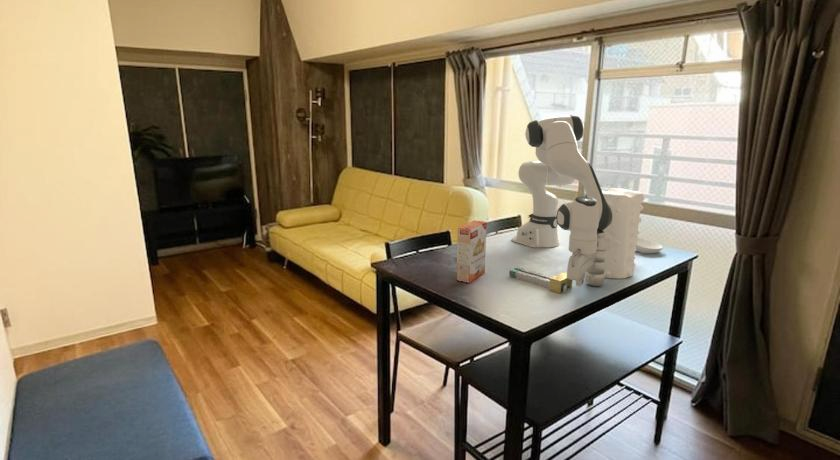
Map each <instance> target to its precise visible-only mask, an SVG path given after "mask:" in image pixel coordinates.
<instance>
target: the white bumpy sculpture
mask: <svg viewBox="0 0 840 460" xmlns="http://www.w3.org/2000/svg"><path fill="white" fill-rule="evenodd" d="M601 190H602V193H603V195H604V198H605V200H606V202H607V203H608V205H609V207H610V209H611V211H612V221H611V223H610V225H609V226H608V227H607V228H606V229H604V230H603V231H604V232H605V237H604V240H605V241H606V243H607V245H608V249H607V253H606V257H605V263H604V274H605V278H609V279H626V278H629V277H632V276H633V275H634V268H635V266H636V263H635V259H636V255H635V254H636V251H638V250H637V249H636V242H637V241H638V239H637V236H638V235H639V234H640V231H639V224H640V223H641V222H642V218H641V217H640V215H641V211H643V210H644V209H645V207H644V206H643V205H642V202H643V201H645V196H644V194H643V192H642V191H639V190H631V189H627V188H622V187H621V188H619V187H617V188H616V187H610V188H608V190H603V189H601Z"/></svg>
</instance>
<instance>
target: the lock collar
mask: <svg viewBox="0 0 840 460" xmlns="http://www.w3.org/2000/svg"><path fill="white" fill-rule="evenodd" d="M551 277H552V278H550V289H549V291H550V292H554V293H556V294H561V293H562V292H561V284H562V283H565V284H567V288H573V281H574V280H569V279H568V278H567V272H563V271H562V272H560V273H558V274H557V275H554V276H551Z"/></svg>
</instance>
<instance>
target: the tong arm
mask: <svg viewBox="0 0 840 460" xmlns="http://www.w3.org/2000/svg"><path fill="white" fill-rule="evenodd" d="M513 269H515V270H519V271H521V272H525V273H528V274H532V275H535V276H539V277H542V278H546V279H549V280H550V278H552V277H553V276H551V275H547V274H544V273H540V272H537V271H533V270H529V269H526V268H523V267H520V266H516V267H513Z"/></svg>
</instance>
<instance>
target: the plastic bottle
mask: <svg viewBox="0 0 840 460" xmlns="http://www.w3.org/2000/svg"><path fill="white" fill-rule="evenodd" d="M597 237H598V238H597V240H598V241H599V245H598V247H597V250H596V255H595V260H594V264H593V265H592V266H591V267H590V268H589V270H588V271H587V272H586V274H585V278H584V282H585V283H586V284H587V285H589V286H592V287H600V286H602V285H604V283H605V280H606V277H605V274H604V263H605V257H606V253H607V249H608V245H607V243H606V241H605V240H604V237H605V232H604V231H597Z"/></svg>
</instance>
